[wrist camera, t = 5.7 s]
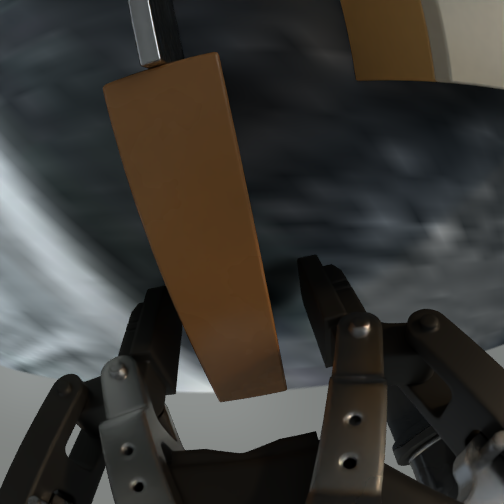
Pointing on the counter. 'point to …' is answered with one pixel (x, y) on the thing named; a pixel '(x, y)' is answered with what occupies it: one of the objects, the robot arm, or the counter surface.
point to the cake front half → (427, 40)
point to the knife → (196, 203)
